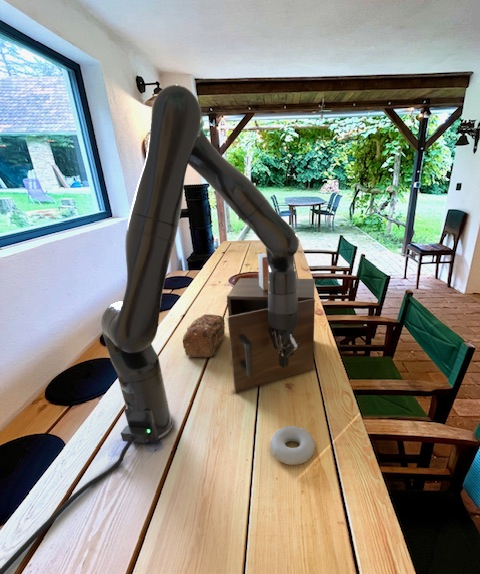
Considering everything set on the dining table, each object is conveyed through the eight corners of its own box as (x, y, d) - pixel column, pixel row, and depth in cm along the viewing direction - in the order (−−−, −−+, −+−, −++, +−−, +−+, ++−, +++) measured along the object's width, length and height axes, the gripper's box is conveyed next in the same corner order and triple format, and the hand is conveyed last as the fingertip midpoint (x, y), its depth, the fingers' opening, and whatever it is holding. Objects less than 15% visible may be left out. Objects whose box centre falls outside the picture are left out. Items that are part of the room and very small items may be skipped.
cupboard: (312, 368, 103) (314, 297, 93) (233, 364, 106) (226, 296, 96) (313, 341, 119) (314, 278, 109) (244, 338, 122) (239, 278, 113)
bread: (213, 359, 110) (209, 332, 106) (183, 357, 111) (179, 331, 107) (227, 334, 127) (224, 310, 122) (201, 333, 128) (197, 310, 124)
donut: (323, 447, 73) (287, 427, 79) (323, 435, 72) (287, 416, 78) (298, 477, 66) (261, 453, 72) (298, 465, 65) (260, 441, 71)
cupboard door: (323, 378, 97) (326, 305, 87) (242, 404, 87) (235, 326, 77) (311, 368, 102) (313, 298, 92) (234, 391, 93) (227, 316, 83)
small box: (263, 291, 99) (261, 257, 95) (258, 285, 104) (257, 253, 100) (287, 288, 101) (287, 254, 97) (282, 282, 106) (282, 251, 102)
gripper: (258, 302, 85) (261, 359, 92) (283, 319, 74) (284, 382, 81) (282, 297, 88) (283, 352, 95) (310, 312, 77) (309, 373, 84)
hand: (284, 366), depth 88 cm, fingers closed
